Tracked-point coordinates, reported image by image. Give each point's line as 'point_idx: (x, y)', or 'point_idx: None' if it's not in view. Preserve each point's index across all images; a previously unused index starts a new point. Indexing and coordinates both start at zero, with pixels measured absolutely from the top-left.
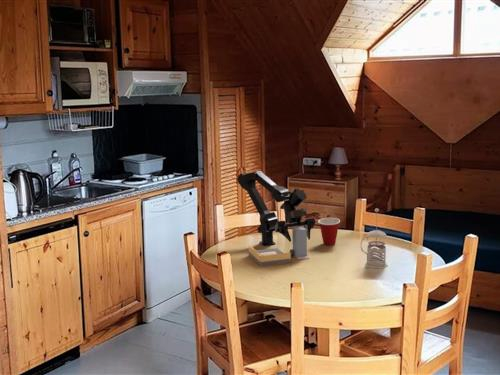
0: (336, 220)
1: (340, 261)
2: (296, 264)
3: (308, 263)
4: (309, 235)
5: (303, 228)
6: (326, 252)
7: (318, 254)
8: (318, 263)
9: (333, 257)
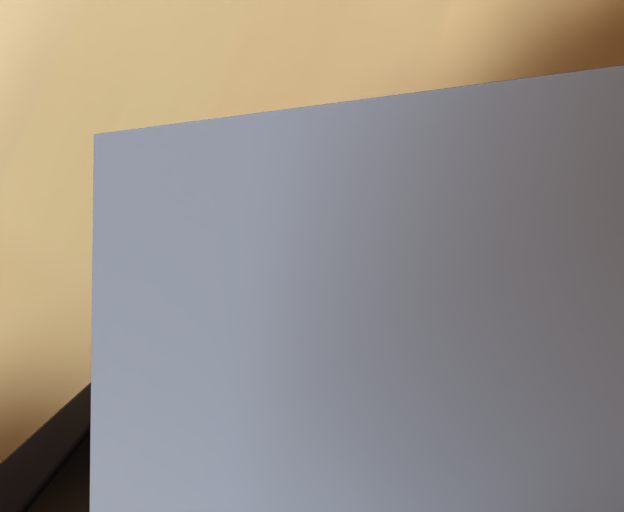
0: None
1: (27, 22)
2: (541, 18)
3: (381, 26)
4: (85, 400)
5: (170, 363)
6: (13, 403)
7: None
8: (269, 3)
9: (29, 177)
